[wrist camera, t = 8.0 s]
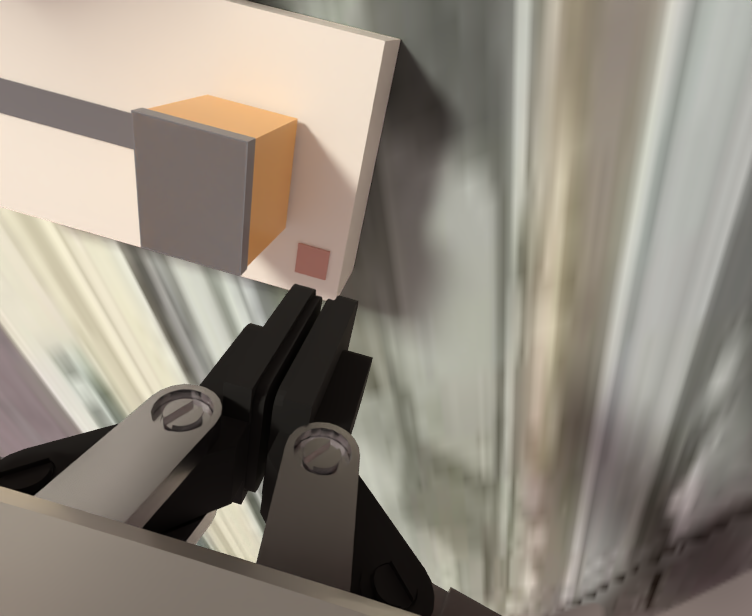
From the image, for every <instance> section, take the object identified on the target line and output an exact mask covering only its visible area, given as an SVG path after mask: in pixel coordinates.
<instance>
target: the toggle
mask: <svg viewBox="0 0 752 616" xmlns="http://www.w3.org/2000/svg"><path fill="white" fill-rule="evenodd" d="M131 119H132V132H133V146H134V160H135V174H136V188H137V202H138V216H139V230H140V244H141V248H144V249H148V250H151V251H155V252H158V253H162V254H165V255H169V256H172V257H176V258H179V259H183V260H186V261H189V262H193V263H196V264H200V265H203V266H207V267H210V268H214V269H217V270H221V271H224V272H228V273H231V274H235V275H238V276H241V275H242V274H243V273H244V272H245V271H246V270H247V266H248V265H249V264H250V263H251V262H252V261H253V260H254V259H255V258H256V257H257V256H258V255H259V254H260V253H261V252H262V251H263V250H264V249H265V248H266V247H267V246H268V245H269V244H270V243H271V242H272V241H273V240H274V239H275V238H276V237H277V236H278V235H279V234H280V233H281V232H282V231H283V230H284V229H285V228H286V220H287V211H288V202H289V193H290V184H291V175H292V166H293V157H294V148H295V139H296V130H297V121H298V118H294V117H290V116H286V115H282V114H279V113H275V112H271V111H267V110H264V109H260V108H256V107H252V106H249V105H245V104H241V103H237V102H234V101H230V100H226V99H222V98H218V97H215V96H211V95H203V96H199V97H195V98H191V99H186V100H182V101H178V102H173V103H169V104H165V105H161V106H156V107H152V108H148V109H145V108H138V109H134V110H131Z"/></svg>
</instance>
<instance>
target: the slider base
mask: <svg viewBox="0 0 752 616" xmlns="http://www.w3.org/2000/svg"><path fill="white" fill-rule="evenodd" d="M400 40H401V39H398V38H394V37H390V36H386V35H382V34H378V33H374V32H370V31H366V30H362V29H358V28H354V27H350V26H346V25H342V24H338V23H334V22H330V21H326V20H322V19H318V18H314V17H310V16H306V15H302V14H298V13H294V12H291V11H287V10H283V9H279V8H275V7H271V6H267V5H263V4H259V3H255V2H251V1H247V0H0V207H2V208H5V209H9V210H12V211H16V212H19V213H23V214H26V215H30V216H33V217H37V218H40V219H44V220H47V221H51V222H54V223H58V224H61V225H65V226H68V227H72V228H75V229H79V230H82V231H86V232H89V233H92V234H96V235H99V236H103V237H106V238H110V239H113V240H117V241H120V242H124V243H127V244H131V245H134V246H138V247H141V244H140V230H139V216H138V202H137V188H136V174H135V160H134V146H133V132H132V119H131V110H134V109H138V108H145V109H148V108H152V107H156V106H161V105H165V104H169V103H173V102H178V101H182V100H186V99H191V98H195V97H199V96H203V95H211V96H215V97H218V98H222V99H226V100H230V101H234V102H237V103H241V104H245V105H249V106H252V107H256V108H260V109H264V110H267V111H271V112H275V113H279V114H282V115H286V116H290V117H294V118H298V121H297V130H296V139H295V148H294V157H293V166H292V175H291V184H290V193H289V202H288V211H287V220H286V228H285V229H284V230H283V231H282V232H281V233H280V234H279V235H278V236H277V237H276V238H275V239H274V240H273V241H272V242H271V243H270V244H269V245H268V246H267V247H266V248H265V249H264V250H263V251H262V252H261V253H260V254H259V255H258V256H257V257H256V258H255V259H254V260H253V261H252V262H251V263H250V264H249V265H248V266H247V270H246V271H245V272H244V273H243V274H242V275H241V276H242V277H246V278H249V279H253V280H256V281H260V282H263V283H267V284H270V285H274V286H277V287H281V288H284V289H288V290H290V289H291V287H292V286H293V285H294V284H298V285H302V286H306V287H309V288H313V289H316V295H317V296H321V297H322V300H326V301H327V299H332V300H335V299H336V297H337V296H339V295H340V293H341V291H342V290H343V288H344V286H345V284H346V282H347V280H348V278H349V277H350V275H351V273H352V271H353V268H354V264H355V259H356V254H357V249H358V244H359V239H360V234H361V230H362V225H363V220H364V215H365V210H366V205H367V201H368V196H369V191H370V186H371V181H372V176H373V171H374V167H375V162H376V157H377V152H378V147H379V142H380V137H381V133H382V128H383V123H384V118H385V113H386V108H387V103H388V99H389V94H390V89H391V84H392V79H393V74H394V70H395V65H396V60H397V55H398V50H399V45H400Z"/></svg>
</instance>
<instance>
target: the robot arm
mask: <svg viewBox="0 0 752 616" xmlns="http://www.w3.org/2000/svg"><path fill="white" fill-rule="evenodd" d="M321 305H322V297H321V296H317V295H316V289H313V288H309V287H306V286H302V285H298V284H294V285H293V286H292V287H291V289H290V290H289V291H288V293H287V294H286V296H285V297H284V298H283V300H282V301H281V303H280V304H279V305H278V307H277V308H276V310H275V311H274V312H273V314H272V315H271V316H270V318H269V319H268V321H267V322H266V323H265V325H264V326H263V327H262V326H259V325H255V324H251V323H250V324H248V325H247V326H246V327H245V328H244V329H243V330H242V332H241V333H240V334H239V336H238V337H237V338H236V339H235V341H234V342H233V343H232V345H231V346H230V347H229V348H228V350H227V351H226V352H225V354H224V355H223V356H222V357H221V359H220V360H219V361H218V363H217V364H216V365H215V366H214V368H213V369H212V370H211V372H210V373H209V374H208V375H207V377H206V378H205V379H204V381H203V382H202V383H201V384H200V386H198V385H191V384H181V385H175V386H170V387H168V388H165V389H162V390H160V391H159V392H157V393H155V394H154V395H152V396H151V397H150V398H149V399H148V400H146V401H145V402H144V403H143V404H142V405H140V406H139V407H138V408H137V409H136V410H135V411H133V412H132V413H131V414H130V415H129V416H127V417H126V418H125V419H124V420H123V421H122V422H120V423H119V424H116V425H112V426H108V427H104V428H101V429H97V430H93V431H90V432H86V433H82V434H79V435H75V436H71V437H67V438H64V439H60V440H56V441H53V442H49V443H45V444H42V445H38V446H34V447H30V448H27V449H23V450H21V451H18V452H15V453H13V454H10V455H8V456H6V457H5V458H3V457H0V616H501V615H499V614H498V613H496V612H494V611H492V610H491V609H489V608H487V607H485V606H483V605H482V604H480V603H478V602H476V601H475V600H473V599H471V598H469V597H467V596H466V595H464V594H462V593H460V592H459V591H457V590H455V589H453V588H451V587H450V589H449V591H448V592H447V591H445V590H444V589H442V588H440V587H438V586H437V585H435V584H433V583H432V582H431V580H430V578H429V576H428V574H427V572H426V570H425V568H424V567H423V566H422V564H421V563H420V561H419V560H418V558H417V557H416V556H415V554H414V553H413V551H412V550H411V548H410V547H409V546H408V544H407V543H406V541H405V540H404V538H403V537H402V536H401V534H400V533H399V531H398V530H397V528H396V527H395V526H394V524H393V523H392V521H391V520H390V519H389V517H388V516H387V514H386V513H385V511H384V510H383V509H382V507H381V506H380V504H379V503H378V501H377V500H376V499H375V497H374V496H373V494H372V493H371V491H370V490H369V489H368V487H367V486H366V484H365V483H364V481H363V480H362V479H361V477H360V476H359V462H360V453H359V447H358V445H357V443H356V441H355V439H354V438H353V437H352V436H351V434H352V430H353V427H354V424H355V420H356V417H357V414H358V410H359V407H360V403H361V400H362V396H363V393H364V389H365V386H366V382H367V378H368V374H369V370H370V367H371V363H372V359H373V358H372V357H369V356H365V355H362V354H358V353H354V352H351V351H348V347H349V343H350V338H351V334H352V329H353V325H354V320H355V316H356V311H357V307H358V301H356V300H353V299H349V298H345V297H342V296H337V297H336V299H335V300H332V299H327V301H326V303H325V305H324V306H323V308H322V310H321ZM320 310H321V312H320ZM263 477H264V481H263V489H262V502H261V510H260V513H261V515H262V517H263V519H264V521H265V523H266V526H265V530H264V534H263V538H262V542H261V546H260V550H259V554H258V558H257V562H256V563H253V562H250V561H246V560H243V559H240V558H237V557H234V556H230V555H227V554H224V553H220V552H217V551H214V550H211V549H207V548H204V547H201V546H197V545H196V543H197V542H198V541H199V539H200V538H201V537H202V535H203V534H204V532H205V531H206V530H207V528H208V527H209V526H210V524H211V523H212V521H213V519H214V517H215V515H216V511H217V509H219V508H222V507H224V506H227V505H229V504H231V503H232V502H234V503H238V504H242V502H243V500H244V498H245V496H246V494H247V492H248V491H252V492H256V491H257V489H258V488H259V486H260V483H261V481H262V479H263Z"/></svg>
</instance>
